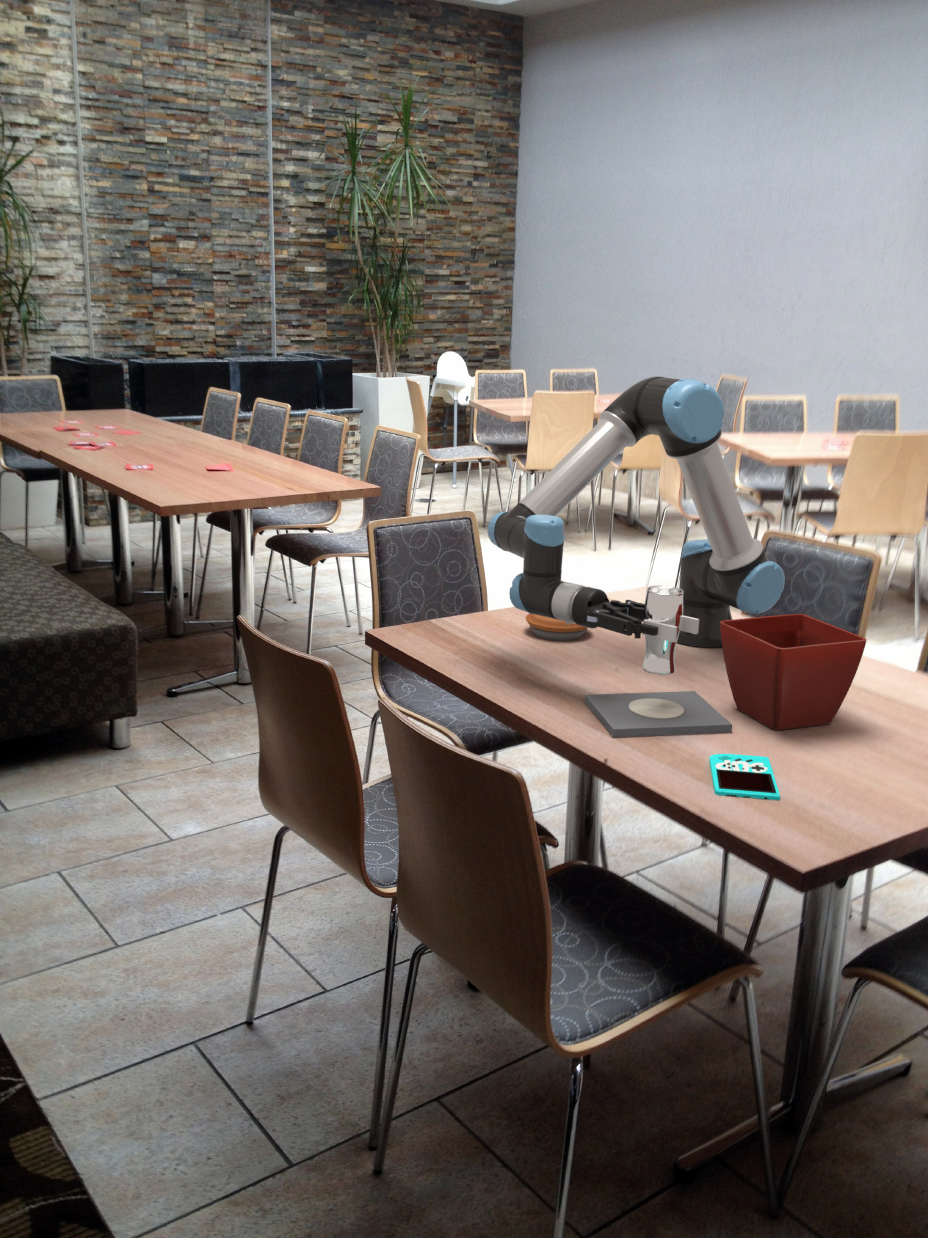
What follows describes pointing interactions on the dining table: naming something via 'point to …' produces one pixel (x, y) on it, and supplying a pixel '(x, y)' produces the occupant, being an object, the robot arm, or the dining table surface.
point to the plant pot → (789, 668)
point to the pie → (554, 628)
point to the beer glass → (665, 609)
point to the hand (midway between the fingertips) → (686, 630)
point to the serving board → (656, 714)
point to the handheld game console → (743, 776)
